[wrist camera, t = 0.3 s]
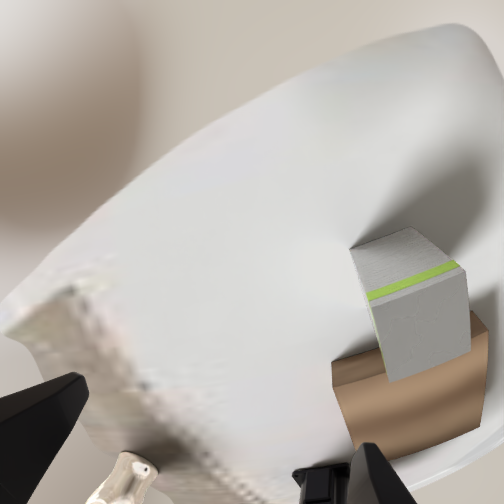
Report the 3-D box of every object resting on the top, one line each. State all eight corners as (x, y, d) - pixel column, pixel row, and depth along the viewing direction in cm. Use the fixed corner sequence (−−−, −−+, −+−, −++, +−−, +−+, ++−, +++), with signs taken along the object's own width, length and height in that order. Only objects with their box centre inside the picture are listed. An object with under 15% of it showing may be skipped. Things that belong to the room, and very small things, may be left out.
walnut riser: (473, 405, 21) (482, 425, 18) (360, 444, 25) (361, 467, 22) (475, 309, 19) (491, 328, 16) (331, 362, 22) (332, 387, 19)
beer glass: (135, 474, 35) (96, 543, 21) (108, 447, 33) (61, 519, 19) (170, 479, 33) (132, 559, 19) (143, 451, 31) (95, 536, 17)
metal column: (424, 286, 19) (471, 351, 11) (366, 307, 20) (389, 383, 13) (411, 226, 18) (465, 270, 10) (348, 249, 19) (370, 307, 12)
